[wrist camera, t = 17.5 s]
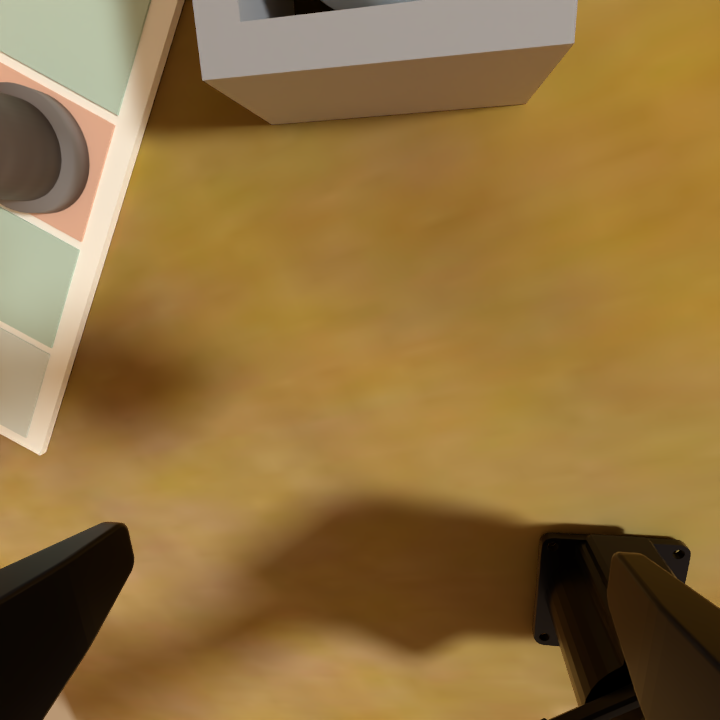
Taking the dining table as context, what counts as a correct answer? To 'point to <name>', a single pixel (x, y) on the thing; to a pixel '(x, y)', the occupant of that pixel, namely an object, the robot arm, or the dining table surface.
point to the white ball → (359, 3)
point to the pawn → (39, 152)
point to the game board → (95, 205)
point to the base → (380, 55)
